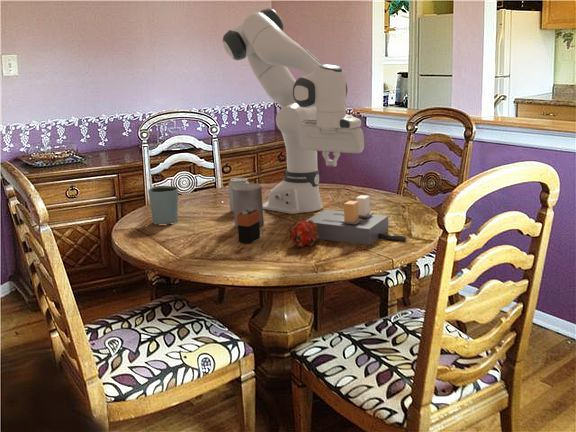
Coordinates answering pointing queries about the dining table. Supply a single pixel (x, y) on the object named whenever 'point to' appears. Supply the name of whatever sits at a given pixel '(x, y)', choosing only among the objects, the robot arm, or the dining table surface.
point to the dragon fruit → (304, 233)
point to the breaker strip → (352, 228)
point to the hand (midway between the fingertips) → (331, 165)
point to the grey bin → (164, 204)
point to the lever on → (364, 206)
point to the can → (233, 182)
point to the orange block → (351, 213)
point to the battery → (248, 226)
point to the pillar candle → (248, 199)
